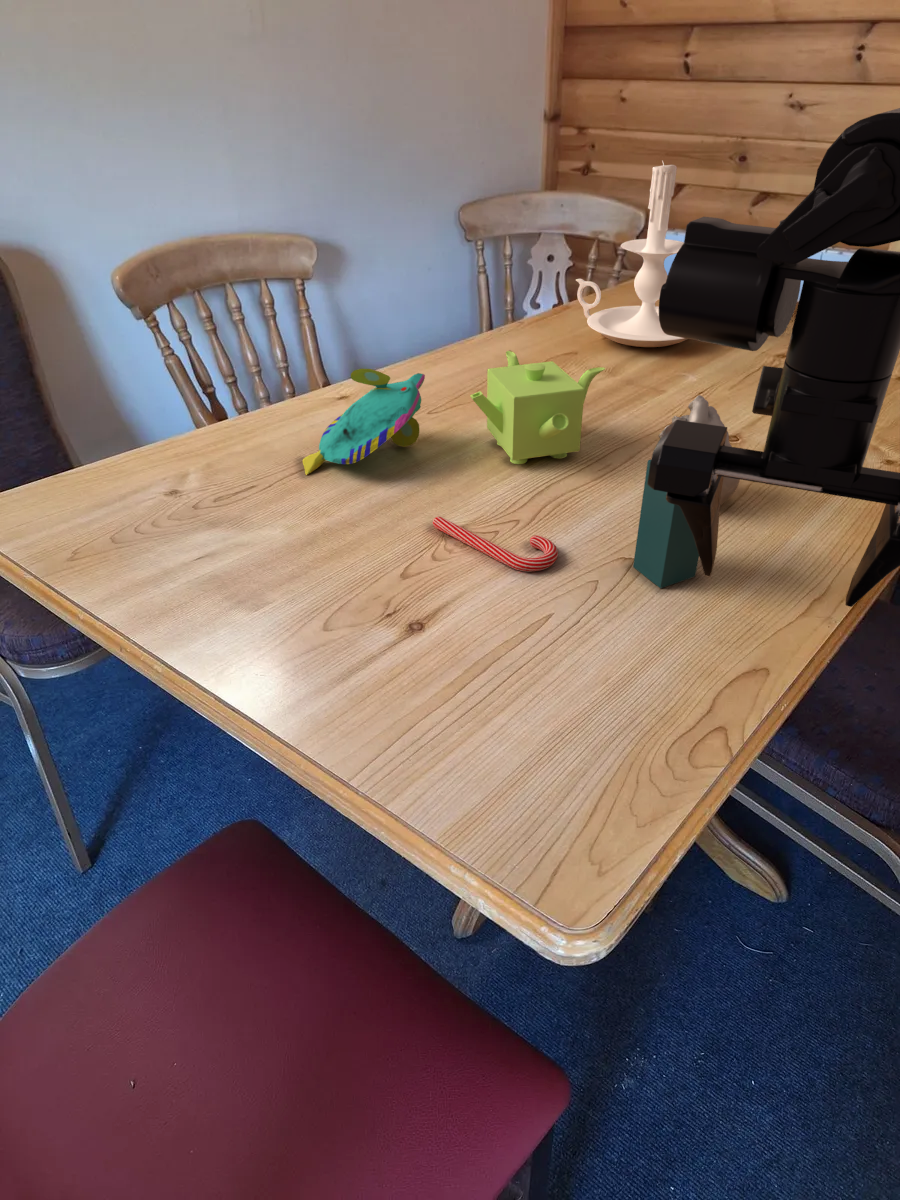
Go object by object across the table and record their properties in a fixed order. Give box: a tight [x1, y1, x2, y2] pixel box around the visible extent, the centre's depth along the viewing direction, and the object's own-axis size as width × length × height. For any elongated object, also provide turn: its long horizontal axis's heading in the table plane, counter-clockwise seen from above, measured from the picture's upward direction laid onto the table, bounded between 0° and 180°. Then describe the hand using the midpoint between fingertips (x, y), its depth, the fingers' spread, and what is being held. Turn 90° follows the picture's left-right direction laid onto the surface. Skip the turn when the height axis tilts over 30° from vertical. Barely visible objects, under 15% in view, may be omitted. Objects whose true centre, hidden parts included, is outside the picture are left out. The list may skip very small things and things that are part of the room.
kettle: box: [469, 350, 606, 465], centre depth 100 cm, size 15×14×11 cm
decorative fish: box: [302, 368, 426, 476], centre depth 99 cm, size 20×12×15 cm
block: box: [632, 458, 700, 589], centre depth 75 cm, size 4×4×12 cm
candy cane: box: [432, 516, 559, 572], centre depth 84 cm, size 6×15×2 cm, turn 44°
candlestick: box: [575, 160, 688, 348], centre depth 131 cm, size 21×25×28 cm
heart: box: [658, 394, 741, 507], centre depth 87 cm, size 10×10×12 cm
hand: (776, 587), depth 54 cm, fingers open, 9 cm apart
